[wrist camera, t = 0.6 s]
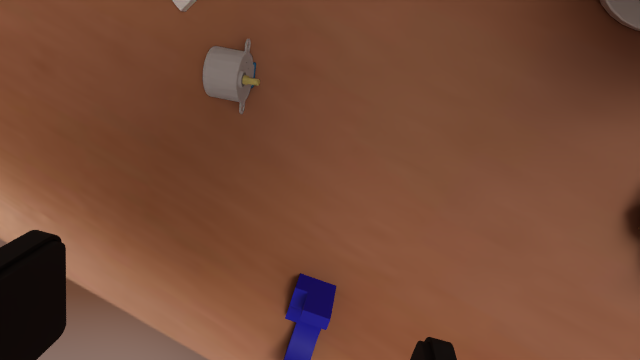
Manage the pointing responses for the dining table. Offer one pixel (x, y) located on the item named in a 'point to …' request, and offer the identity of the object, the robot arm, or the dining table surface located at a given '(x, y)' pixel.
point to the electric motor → (229, 74)
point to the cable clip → (308, 315)
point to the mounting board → (184, 4)
